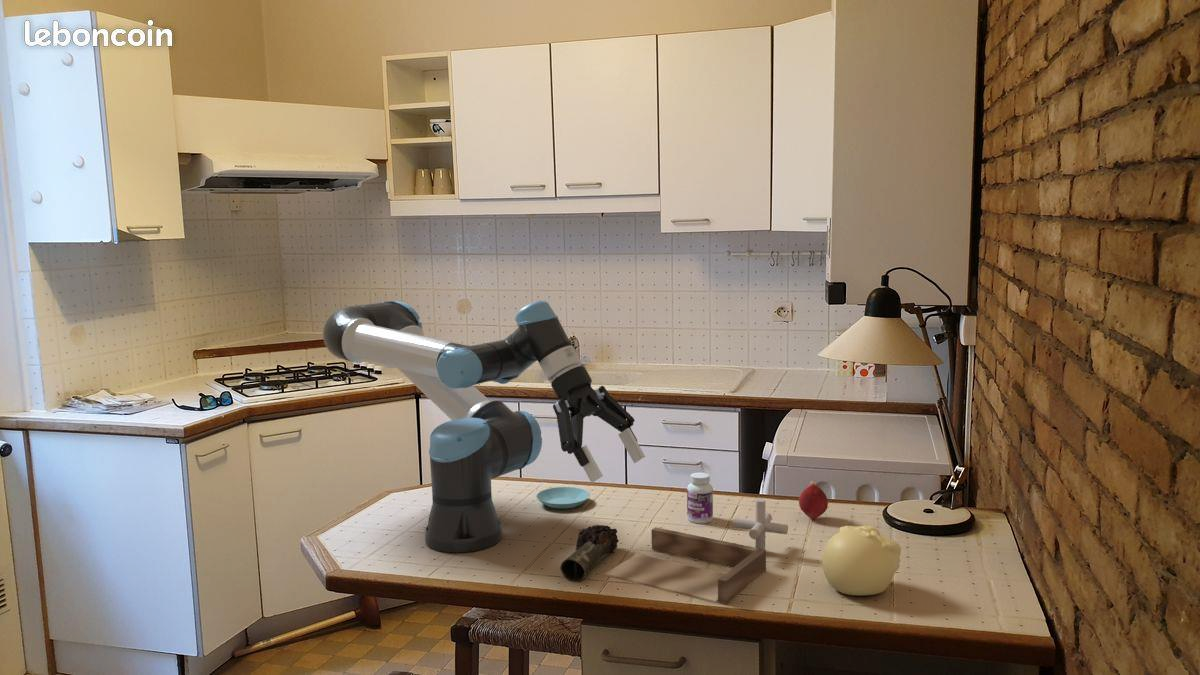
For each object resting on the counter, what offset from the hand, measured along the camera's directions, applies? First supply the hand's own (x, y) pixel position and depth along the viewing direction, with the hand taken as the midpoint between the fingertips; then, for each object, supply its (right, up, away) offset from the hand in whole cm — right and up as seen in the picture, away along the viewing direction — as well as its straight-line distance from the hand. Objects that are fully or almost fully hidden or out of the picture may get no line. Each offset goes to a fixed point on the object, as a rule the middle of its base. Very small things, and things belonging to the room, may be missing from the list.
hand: (619, 469), depth 171 cm
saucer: (-12, -12, +28) cm, 33 cm away
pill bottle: (+17, -13, +16) cm, 27 cm away
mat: (+9, -17, -13) cm, 24 cm away
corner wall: (+12, -17, -12) cm, 24 cm away
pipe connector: (+27, -15, -2) cm, 31 cm away
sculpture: (+40, -17, -20) cm, 48 cm away
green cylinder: (-6, -17, -6) cm, 19 cm away
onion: (+41, -13, +15) cm, 45 cm away
